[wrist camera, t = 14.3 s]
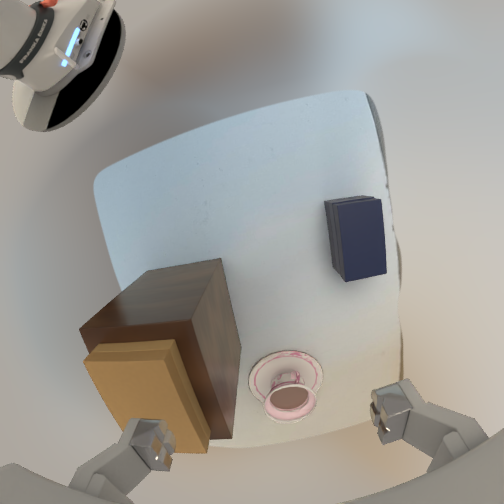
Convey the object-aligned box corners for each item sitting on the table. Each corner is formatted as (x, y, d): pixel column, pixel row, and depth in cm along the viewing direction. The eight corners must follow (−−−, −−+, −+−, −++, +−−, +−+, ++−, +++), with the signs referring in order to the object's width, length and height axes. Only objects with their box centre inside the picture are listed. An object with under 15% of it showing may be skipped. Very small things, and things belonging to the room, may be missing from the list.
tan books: (98, 343, 21) (82, 361, 18) (174, 338, 20) (163, 360, 17) (143, 429, 23) (134, 449, 20) (211, 431, 23) (207, 453, 20)
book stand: (146, 270, 38) (78, 329, 21) (221, 257, 37) (191, 319, 20) (173, 354, 41) (135, 436, 24) (241, 347, 41) (232, 439, 23)
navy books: (324, 201, 35) (332, 202, 32) (362, 195, 35) (374, 196, 31) (332, 266, 37) (340, 276, 34) (369, 259, 37) (380, 267, 33)
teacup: (310, 407, 43) (315, 431, 37) (243, 400, 43) (241, 425, 37) (331, 353, 41) (341, 377, 35) (256, 344, 40) (255, 368, 34)
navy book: (332, 204, 32) (337, 205, 30) (374, 198, 31) (381, 199, 29) (340, 277, 34) (345, 282, 32) (380, 268, 33) (386, 273, 31)
